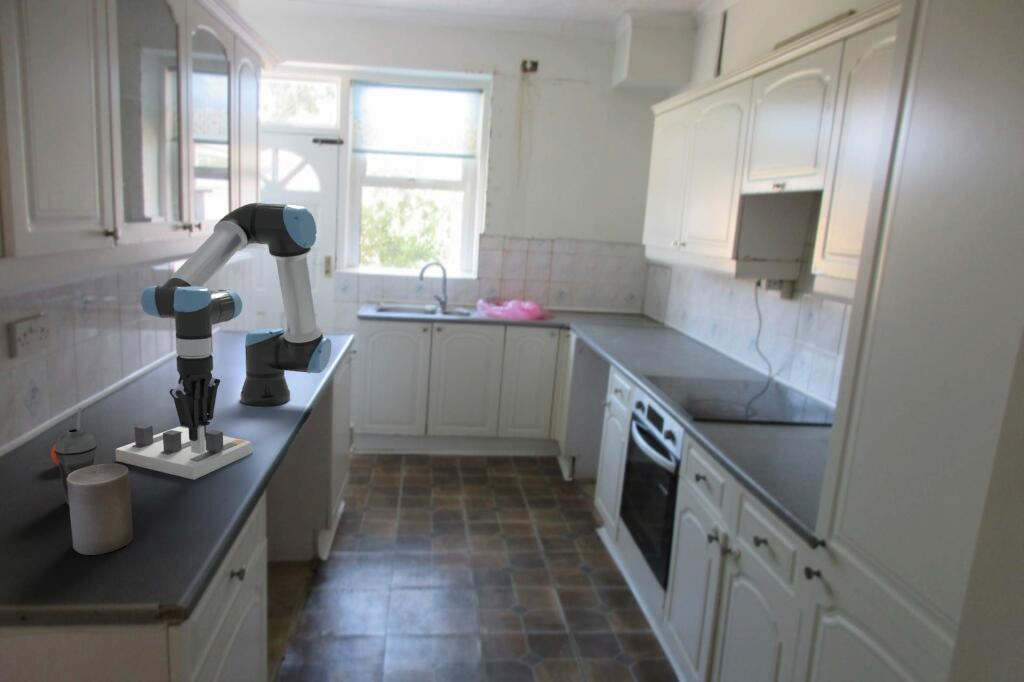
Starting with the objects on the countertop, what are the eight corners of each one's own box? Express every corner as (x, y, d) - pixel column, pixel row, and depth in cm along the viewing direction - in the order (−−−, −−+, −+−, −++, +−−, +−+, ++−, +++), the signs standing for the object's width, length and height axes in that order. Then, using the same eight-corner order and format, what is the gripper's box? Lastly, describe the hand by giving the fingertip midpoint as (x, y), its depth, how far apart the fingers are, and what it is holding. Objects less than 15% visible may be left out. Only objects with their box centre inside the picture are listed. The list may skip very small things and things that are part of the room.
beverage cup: (52, 500, 136) (45, 408, 132) (92, 490, 142) (86, 401, 138) (66, 511, 132) (59, 417, 128) (105, 500, 138) (100, 409, 134)
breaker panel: (179, 437, 176) (178, 410, 174) (252, 453, 168) (251, 424, 166) (116, 460, 158) (114, 430, 156) (194, 479, 150) (192, 448, 149)
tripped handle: (213, 447, 161) (213, 429, 160) (223, 449, 160) (222, 431, 159) (205, 450, 159) (205, 432, 158) (215, 452, 158) (215, 434, 157)
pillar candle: (142, 529, 127) (137, 456, 124) (120, 555, 118) (114, 476, 115) (87, 530, 126) (81, 456, 123) (61, 557, 116) (53, 477, 113)
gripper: (203, 347, 157) (206, 440, 162) (158, 358, 145) (162, 458, 150) (228, 351, 155) (231, 446, 159) (184, 362, 143) (188, 464, 147)
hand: (198, 451), depth 154 cm, fingers closed
